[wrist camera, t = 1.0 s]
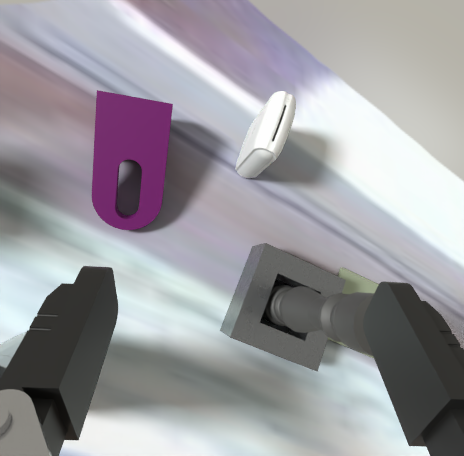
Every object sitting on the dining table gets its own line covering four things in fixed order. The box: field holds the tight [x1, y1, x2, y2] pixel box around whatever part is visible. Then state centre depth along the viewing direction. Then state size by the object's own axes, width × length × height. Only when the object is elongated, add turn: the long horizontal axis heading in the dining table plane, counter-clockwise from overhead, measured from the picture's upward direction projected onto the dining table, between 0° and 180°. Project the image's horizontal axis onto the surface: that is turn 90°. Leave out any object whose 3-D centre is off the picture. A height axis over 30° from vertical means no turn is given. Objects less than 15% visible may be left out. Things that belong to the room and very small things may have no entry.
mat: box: [328, 268, 379, 358], centre depth 58 cm, size 12×12×1 cm
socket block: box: [220, 243, 346, 371], centre depth 52 cm, size 14×14×6 cm
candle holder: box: [262, 284, 374, 357], centre depth 43 cm, size 6×6×25 cm
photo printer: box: [235, 91, 296, 178], centre depth 52 cm, size 10×4×12 cm, turn 160°
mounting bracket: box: [92, 90, 173, 230], centre depth 50 cm, size 10×8×18 cm
